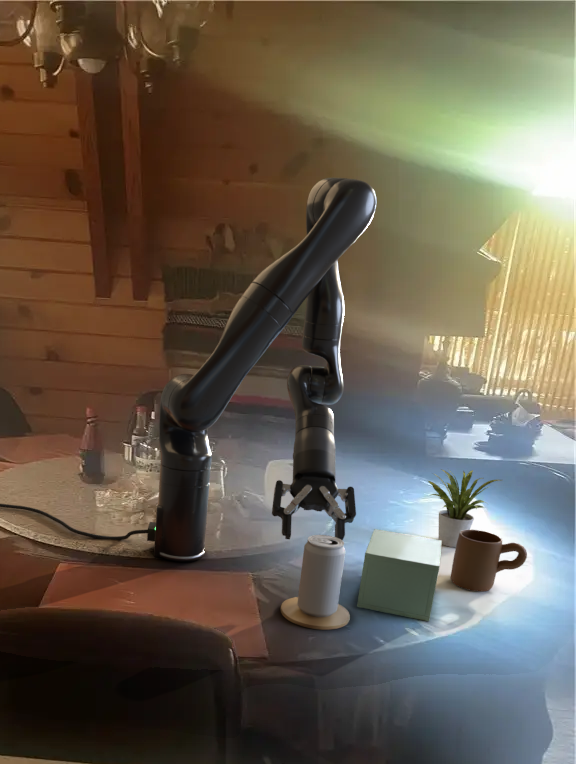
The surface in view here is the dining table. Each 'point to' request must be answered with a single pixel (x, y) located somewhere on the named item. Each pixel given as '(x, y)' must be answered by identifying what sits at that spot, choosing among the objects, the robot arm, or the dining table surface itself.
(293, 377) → the robot arm
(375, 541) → the cabinet
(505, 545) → the mug
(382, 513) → the dining table surface
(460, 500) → the house plant
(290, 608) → the coaster
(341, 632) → the dining table surface
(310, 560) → the beverage can
